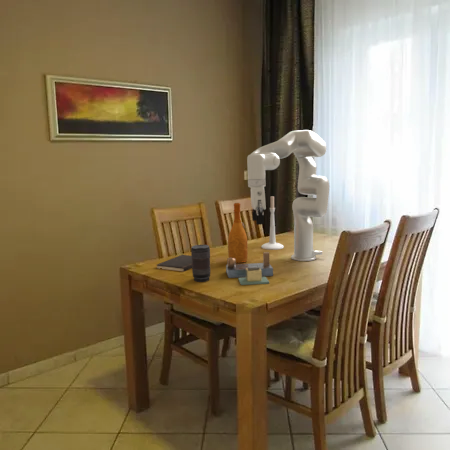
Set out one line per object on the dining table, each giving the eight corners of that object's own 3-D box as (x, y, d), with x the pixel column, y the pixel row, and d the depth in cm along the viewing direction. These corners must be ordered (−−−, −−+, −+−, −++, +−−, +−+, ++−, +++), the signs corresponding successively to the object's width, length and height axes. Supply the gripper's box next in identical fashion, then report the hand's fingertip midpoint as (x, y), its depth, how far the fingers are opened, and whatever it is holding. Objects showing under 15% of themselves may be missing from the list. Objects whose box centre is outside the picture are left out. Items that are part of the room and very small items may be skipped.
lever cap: (259, 277, 193) (259, 265, 192) (261, 281, 188) (261, 268, 187) (245, 278, 192) (245, 266, 191) (247, 281, 187) (247, 269, 186)
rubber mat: (265, 278, 195) (265, 276, 194) (269, 283, 187) (269, 281, 187) (238, 279, 193) (238, 277, 193) (240, 285, 186) (240, 283, 185)
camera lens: (192, 277, 198) (190, 244, 196) (210, 276, 199) (209, 244, 196) (192, 282, 190) (191, 248, 188) (211, 282, 191) (210, 247, 188)
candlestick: (287, 246, 259) (287, 195, 255) (277, 250, 249) (277, 197, 244) (267, 244, 266) (267, 194, 261) (257, 248, 256) (257, 196, 251)
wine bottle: (246, 264, 220) (245, 203, 215) (226, 263, 222) (225, 203, 217) (249, 259, 229) (248, 201, 225) (230, 258, 231) (229, 201, 227)
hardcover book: (156, 269, 216) (156, 264, 216) (182, 258, 236) (182, 254, 236) (183, 272, 209) (183, 268, 208) (208, 261, 229) (208, 257, 228)
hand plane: (268, 269, 208) (268, 250, 207) (273, 275, 198) (272, 254, 197) (226, 271, 206) (225, 252, 205) (228, 277, 196) (228, 256, 195)
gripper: (269, 184, 182) (270, 225, 186) (261, 180, 199) (262, 218, 203) (251, 185, 182) (253, 226, 185) (245, 181, 199) (246, 219, 202)
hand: (258, 222), depth 194 cm, fingers open, 9 cm apart
